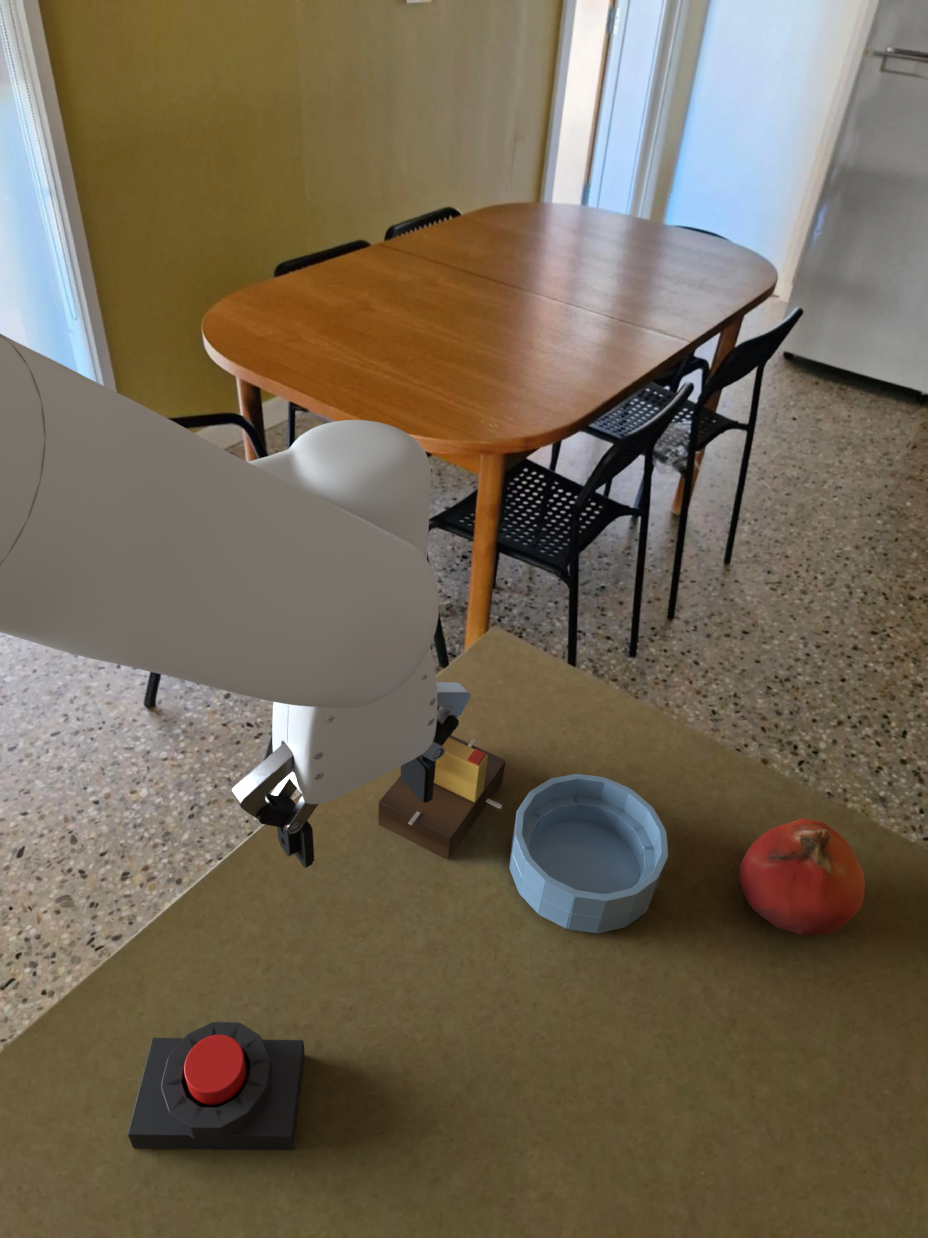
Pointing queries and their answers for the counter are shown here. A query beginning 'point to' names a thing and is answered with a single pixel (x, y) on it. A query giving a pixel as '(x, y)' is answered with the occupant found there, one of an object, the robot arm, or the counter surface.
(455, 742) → the yellow block red tip
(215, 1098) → the button
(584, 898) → the basin
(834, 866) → the tomato
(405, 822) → the base
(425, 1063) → the counter surface
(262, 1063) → the button box
